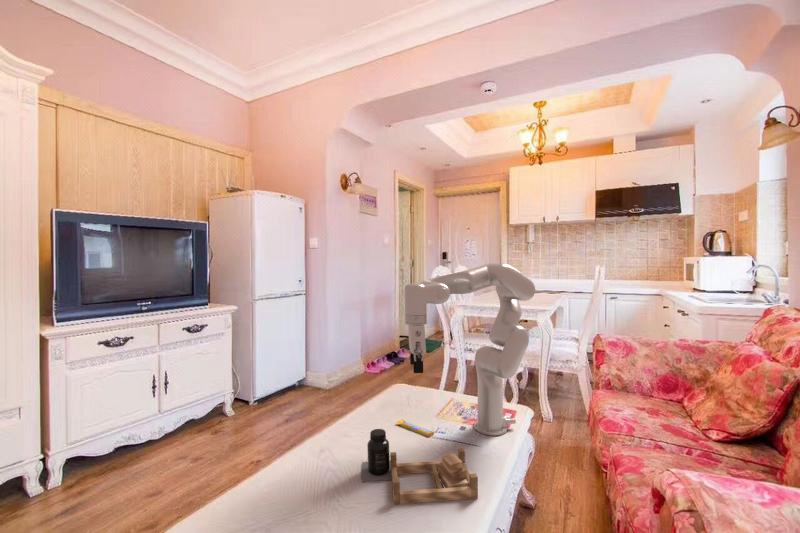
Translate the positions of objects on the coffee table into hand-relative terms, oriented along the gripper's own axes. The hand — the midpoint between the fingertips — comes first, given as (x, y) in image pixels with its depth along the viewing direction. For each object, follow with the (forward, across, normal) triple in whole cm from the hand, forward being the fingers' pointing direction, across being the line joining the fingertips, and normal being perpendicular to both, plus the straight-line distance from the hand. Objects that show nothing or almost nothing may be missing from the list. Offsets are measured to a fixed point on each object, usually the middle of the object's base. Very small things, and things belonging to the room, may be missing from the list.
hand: (416, 368), depth 126 cm
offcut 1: (+23, -20, -8) cm, 32 cm away
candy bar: (+29, +14, -1) cm, 32 cm away
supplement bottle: (+28, -12, +14) cm, 33 cm away
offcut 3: (+29, -20, -8) cm, 36 cm away
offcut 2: (+26, -20, -8) cm, 34 cm away
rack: (+28, -20, -2) cm, 35 cm away
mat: (+28, -12, +14) cm, 34 cm away
